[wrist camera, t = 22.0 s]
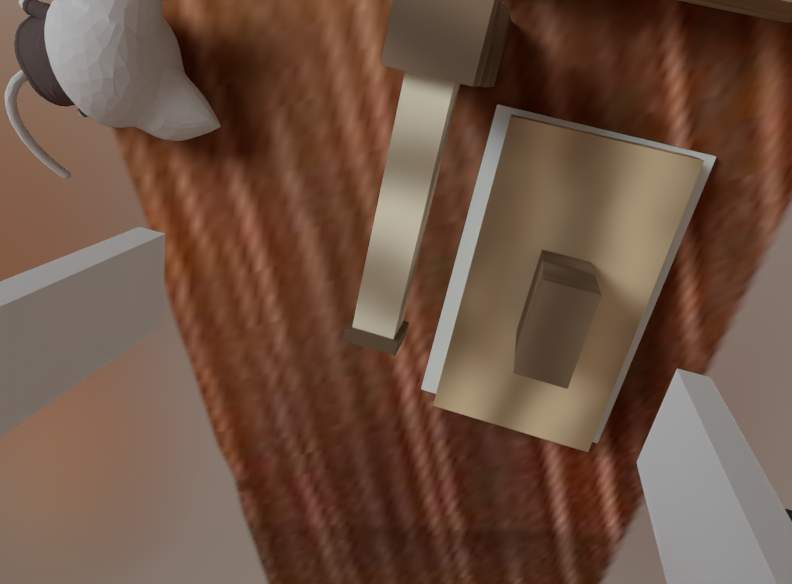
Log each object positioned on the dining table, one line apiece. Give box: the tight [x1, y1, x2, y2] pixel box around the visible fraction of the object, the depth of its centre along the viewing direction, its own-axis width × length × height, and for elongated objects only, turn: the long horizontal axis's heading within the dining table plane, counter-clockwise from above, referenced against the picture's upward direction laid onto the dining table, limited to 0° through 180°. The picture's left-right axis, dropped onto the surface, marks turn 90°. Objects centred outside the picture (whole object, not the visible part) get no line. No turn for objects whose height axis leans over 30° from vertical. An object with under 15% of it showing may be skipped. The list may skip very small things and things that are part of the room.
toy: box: [5, 0, 221, 179], centre depth 40 cm, size 13×9×15 cm
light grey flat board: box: [421, 104, 716, 443], centre depth 42 cm, size 22×14×1 cm, turn 168°
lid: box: [433, 114, 704, 452], centre depth 37 cm, size 12×21×9 cm, turn 168°
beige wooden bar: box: [342, 71, 460, 356], centre depth 31 cm, size 22×3×3 cm, turn 168°
